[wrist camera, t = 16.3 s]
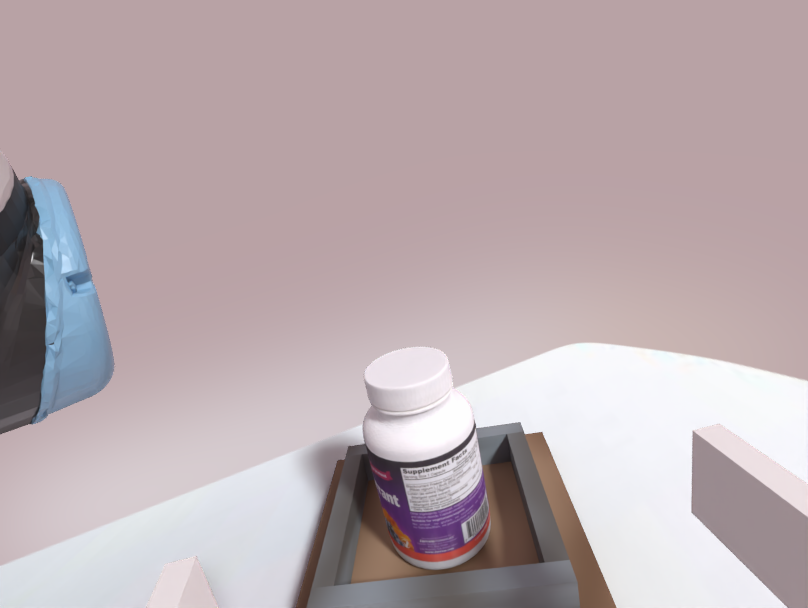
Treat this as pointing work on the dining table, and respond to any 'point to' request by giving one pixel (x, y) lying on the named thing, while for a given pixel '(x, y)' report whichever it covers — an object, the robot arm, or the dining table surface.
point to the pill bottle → (425, 459)
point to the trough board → (482, 574)
